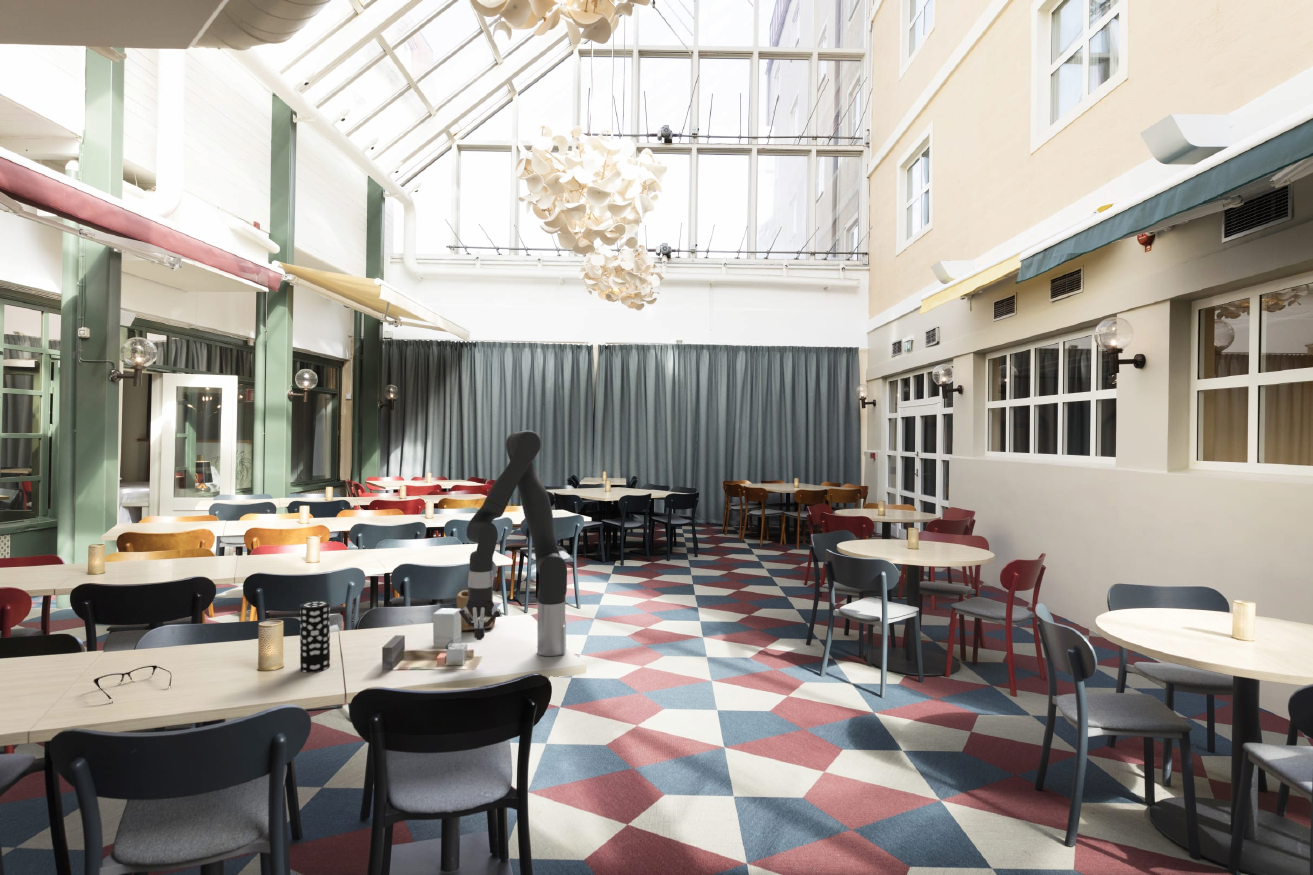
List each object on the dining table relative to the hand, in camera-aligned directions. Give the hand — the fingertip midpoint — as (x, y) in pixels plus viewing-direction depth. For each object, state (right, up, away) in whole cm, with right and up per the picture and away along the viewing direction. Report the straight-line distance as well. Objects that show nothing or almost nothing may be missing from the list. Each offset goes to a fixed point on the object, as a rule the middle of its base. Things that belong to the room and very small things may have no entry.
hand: (479, 639), depth 218 cm
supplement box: (-16, -9, +19) cm, 26 cm away
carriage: (-7, -7, 0) cm, 10 cm away
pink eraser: (-11, -7, -1) cm, 14 cm away
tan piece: (-12, -8, +40) cm, 43 cm away
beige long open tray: (-14, -9, -1) cm, 16 cm away
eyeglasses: (-94, -9, -19) cm, 97 cm away
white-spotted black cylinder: (-51, -9, -1) cm, 52 cm away
